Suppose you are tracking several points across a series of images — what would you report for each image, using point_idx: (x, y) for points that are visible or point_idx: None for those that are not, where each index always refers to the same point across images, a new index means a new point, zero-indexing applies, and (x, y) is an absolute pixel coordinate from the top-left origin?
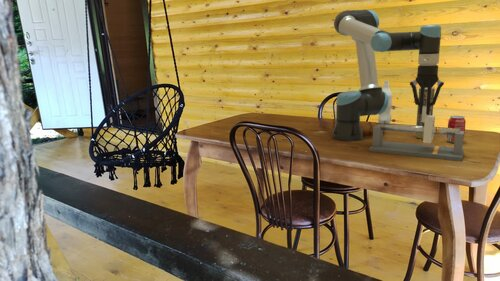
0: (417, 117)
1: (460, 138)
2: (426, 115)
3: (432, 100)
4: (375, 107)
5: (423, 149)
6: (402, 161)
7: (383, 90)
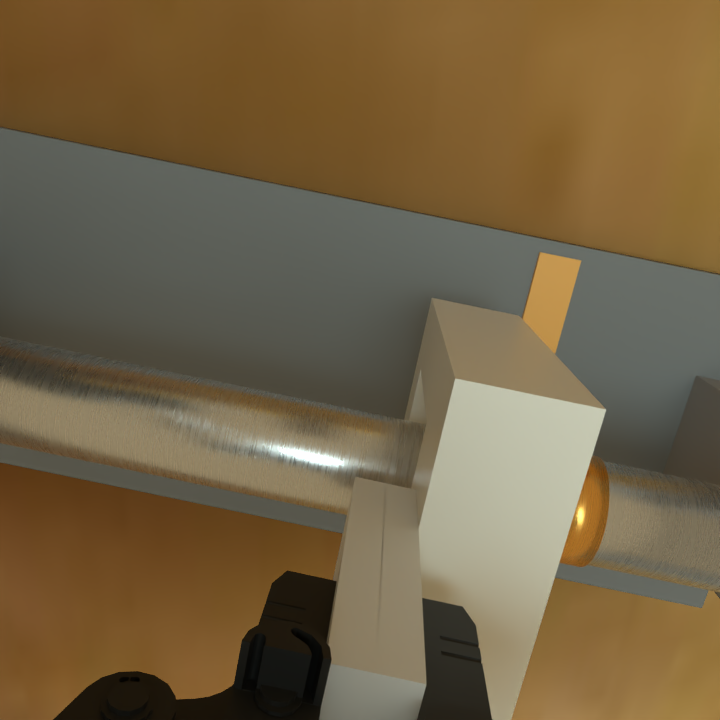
0: None
1: None
2: (417, 549)
3: None
4: None
5: (401, 403)
6: (219, 665)
7: None
